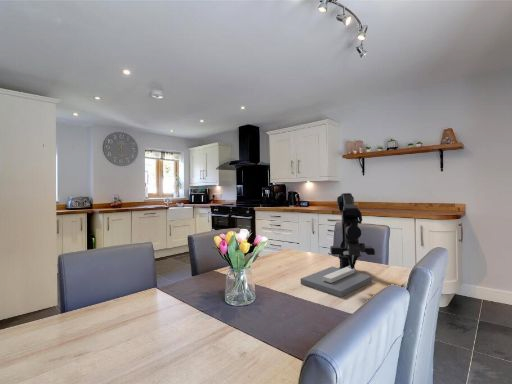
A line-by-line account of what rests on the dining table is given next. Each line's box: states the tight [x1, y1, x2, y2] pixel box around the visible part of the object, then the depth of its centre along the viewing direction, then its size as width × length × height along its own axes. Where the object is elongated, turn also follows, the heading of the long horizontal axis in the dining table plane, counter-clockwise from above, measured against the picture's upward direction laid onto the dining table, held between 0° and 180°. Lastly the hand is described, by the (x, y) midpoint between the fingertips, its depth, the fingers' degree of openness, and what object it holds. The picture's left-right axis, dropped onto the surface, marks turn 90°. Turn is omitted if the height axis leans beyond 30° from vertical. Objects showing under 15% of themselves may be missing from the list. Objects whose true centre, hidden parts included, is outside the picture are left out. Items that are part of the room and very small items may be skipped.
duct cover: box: [323, 265, 356, 283], centre depth 131 cm, size 22×4×3 cm, turn 130°
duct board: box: [300, 266, 373, 298], centre depth 130 cm, size 22×26×2 cm
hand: (352, 268), depth 124 cm, fingers closed
